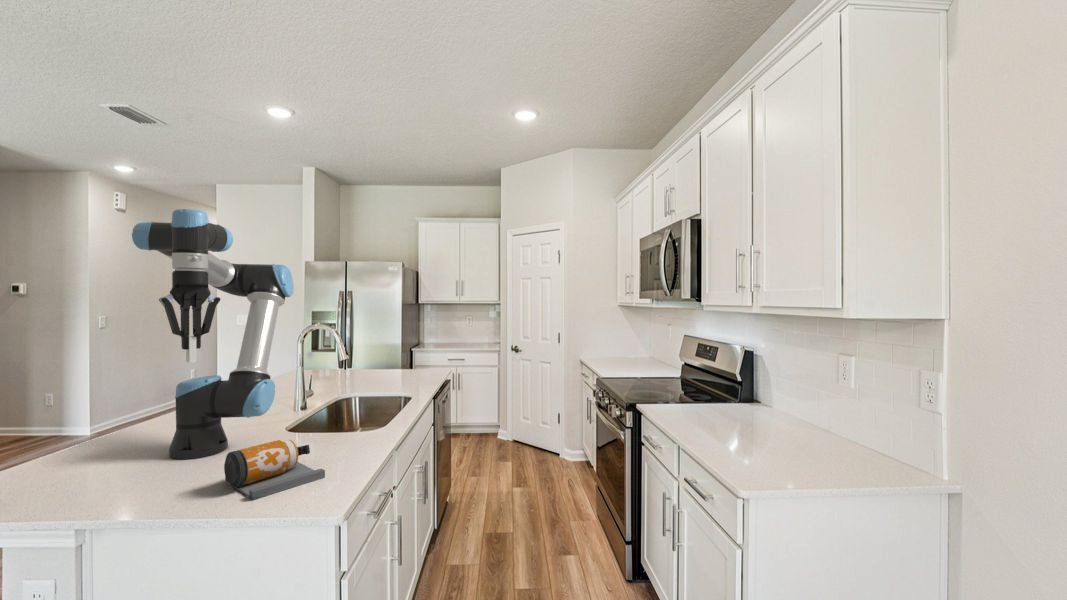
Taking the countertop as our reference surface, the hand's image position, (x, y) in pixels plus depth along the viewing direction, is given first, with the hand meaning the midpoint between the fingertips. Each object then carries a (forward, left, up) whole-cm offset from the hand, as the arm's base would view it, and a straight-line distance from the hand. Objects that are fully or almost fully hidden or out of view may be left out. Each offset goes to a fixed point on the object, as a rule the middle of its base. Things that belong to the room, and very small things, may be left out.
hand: (191, 361), depth 121 cm
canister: (+9, +5, -28) cm, 30 cm away
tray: (+12, +16, -32) cm, 38 cm away
